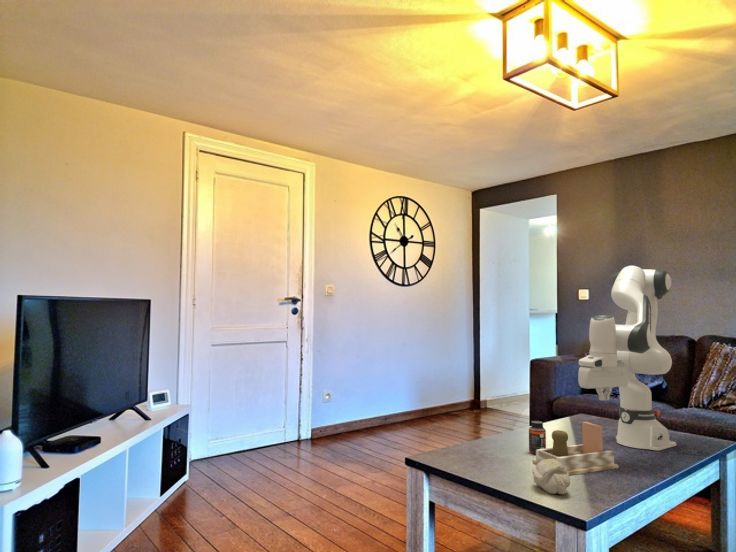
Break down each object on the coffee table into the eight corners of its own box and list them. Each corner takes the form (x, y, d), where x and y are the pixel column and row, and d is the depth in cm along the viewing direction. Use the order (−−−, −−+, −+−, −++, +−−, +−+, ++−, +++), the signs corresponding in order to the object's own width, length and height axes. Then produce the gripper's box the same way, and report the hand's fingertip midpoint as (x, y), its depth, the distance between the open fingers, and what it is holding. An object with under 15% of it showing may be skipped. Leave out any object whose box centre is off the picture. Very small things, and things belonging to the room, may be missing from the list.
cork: (547, 461, 163) (547, 428, 164) (564, 461, 163) (564, 428, 164) (555, 467, 157) (555, 433, 158) (573, 467, 157) (572, 433, 158)
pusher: (586, 456, 169) (585, 421, 170) (603, 462, 162) (602, 426, 163) (582, 456, 168) (582, 422, 169) (599, 462, 162) (598, 426, 163)
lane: (585, 456, 173) (585, 442, 174) (618, 468, 160) (618, 452, 161) (532, 463, 164) (532, 448, 165) (562, 476, 151) (562, 460, 152)
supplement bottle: (547, 456, 173) (546, 424, 174) (530, 454, 174) (529, 423, 175) (544, 451, 179) (544, 420, 180) (528, 450, 180) (527, 419, 181)
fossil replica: (555, 501, 132) (579, 497, 137) (559, 470, 132) (582, 468, 137) (522, 483, 143) (544, 480, 147) (525, 455, 143) (547, 453, 148)
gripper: (617, 359, 177) (618, 397, 176) (574, 360, 169) (575, 400, 168) (632, 360, 171) (633, 400, 170) (589, 362, 163) (589, 403, 162)
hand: (604, 400), depth 169 cm, fingers closed
